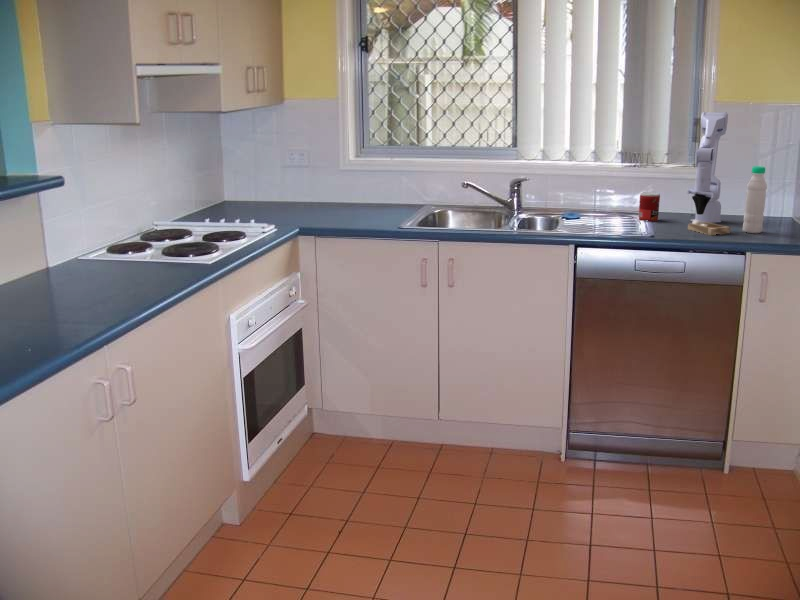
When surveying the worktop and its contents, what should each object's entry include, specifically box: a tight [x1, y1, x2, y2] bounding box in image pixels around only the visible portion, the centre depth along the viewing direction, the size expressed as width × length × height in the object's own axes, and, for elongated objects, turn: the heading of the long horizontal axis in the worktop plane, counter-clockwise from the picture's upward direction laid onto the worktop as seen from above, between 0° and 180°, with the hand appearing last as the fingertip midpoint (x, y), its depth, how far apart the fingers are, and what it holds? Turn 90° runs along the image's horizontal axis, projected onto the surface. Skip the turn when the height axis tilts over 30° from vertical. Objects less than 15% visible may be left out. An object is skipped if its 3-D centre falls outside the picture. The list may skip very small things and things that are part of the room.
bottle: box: [691, 220, 710, 227], centre depth 340 cm, size 4×4×8 cm
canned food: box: [638, 191, 661, 222], centre depth 362 cm, size 8×8×11 cm
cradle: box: [687, 222, 731, 236], centre depth 338 cm, size 9×13×2 cm
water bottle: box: [742, 166, 768, 234], centre depth 334 cm, size 7×7×25 cm
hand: (700, 214), depth 341 cm, fingers closed
